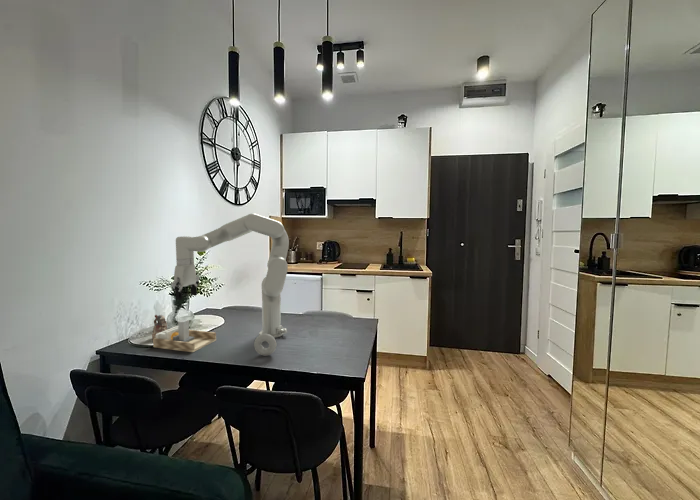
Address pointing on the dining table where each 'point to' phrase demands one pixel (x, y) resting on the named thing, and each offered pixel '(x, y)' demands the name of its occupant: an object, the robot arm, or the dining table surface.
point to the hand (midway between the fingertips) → (186, 297)
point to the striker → (183, 332)
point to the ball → (174, 335)
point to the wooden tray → (197, 343)
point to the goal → (167, 333)
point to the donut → (261, 349)
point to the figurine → (159, 325)
